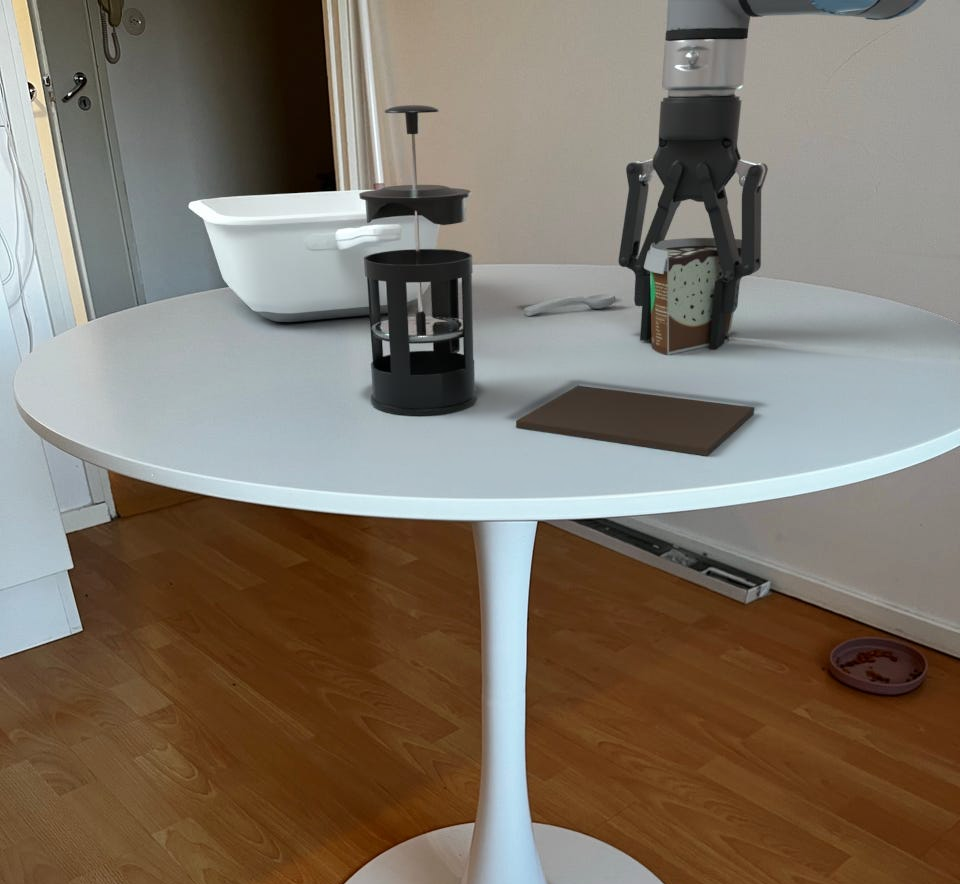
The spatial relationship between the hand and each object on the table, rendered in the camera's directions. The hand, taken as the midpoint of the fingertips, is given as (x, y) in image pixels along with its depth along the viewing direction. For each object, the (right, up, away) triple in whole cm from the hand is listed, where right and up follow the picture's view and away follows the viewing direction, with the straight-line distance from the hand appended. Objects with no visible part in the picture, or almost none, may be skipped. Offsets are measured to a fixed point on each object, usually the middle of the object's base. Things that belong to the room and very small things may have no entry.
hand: (681, 341), depth 106 cm
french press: (-26, -10, -17) cm, 33 cm away
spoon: (-10, +8, +16) cm, 21 cm away
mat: (-8, -14, -24) cm, 29 cm away
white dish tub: (-38, +7, +14) cm, 41 cm away
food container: (0, 0, 0) cm, 1 cm away
